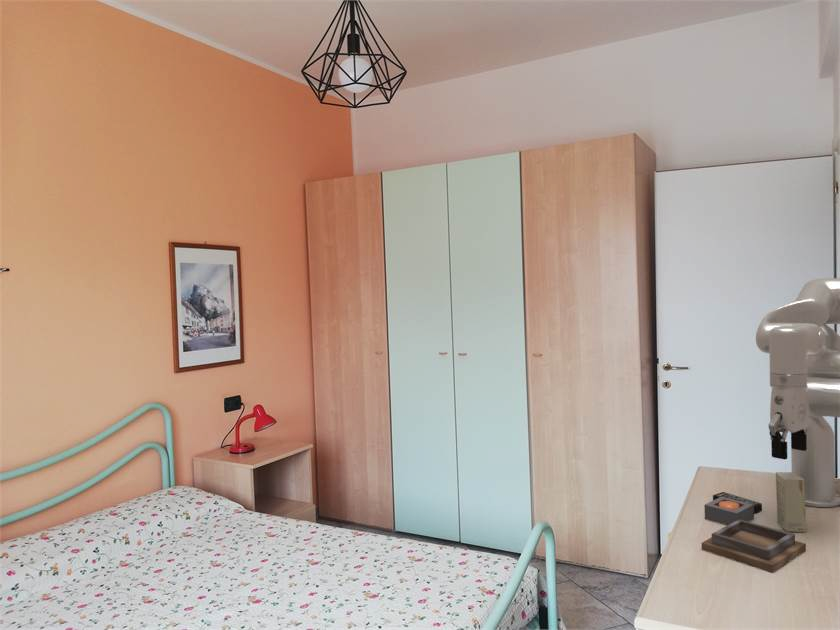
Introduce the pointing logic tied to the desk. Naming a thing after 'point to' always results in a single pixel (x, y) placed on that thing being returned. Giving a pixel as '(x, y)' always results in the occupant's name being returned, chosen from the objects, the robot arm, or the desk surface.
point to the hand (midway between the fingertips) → (789, 453)
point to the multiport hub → (756, 504)
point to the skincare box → (790, 501)
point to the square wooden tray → (754, 545)
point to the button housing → (728, 511)
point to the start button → (729, 505)
